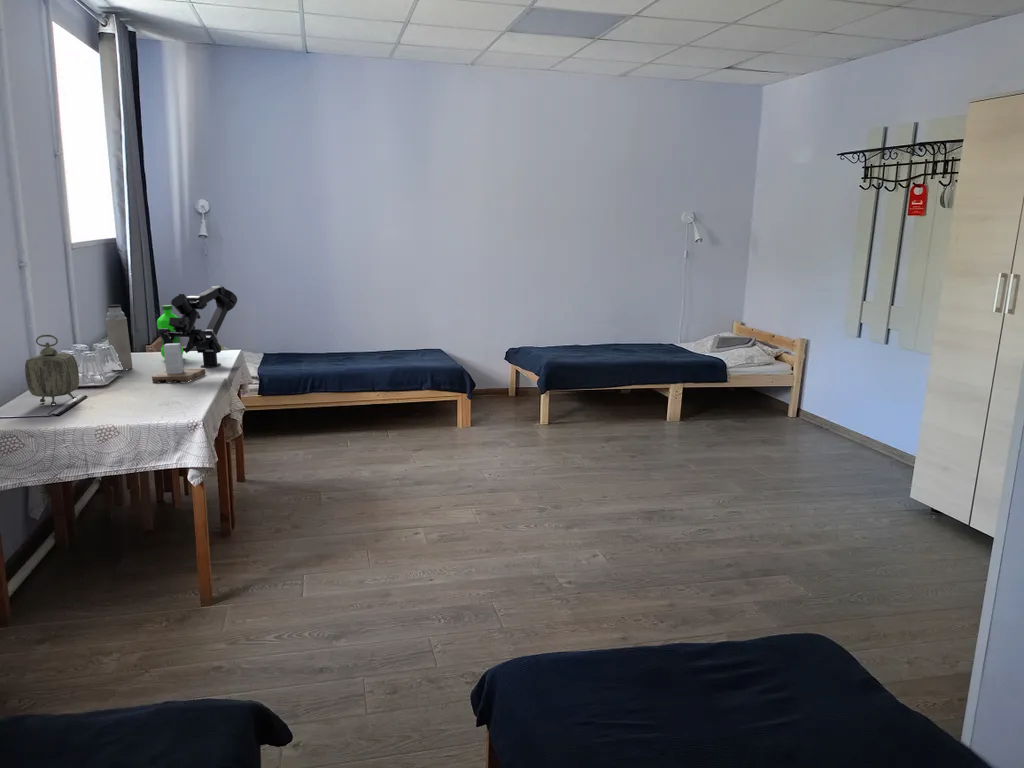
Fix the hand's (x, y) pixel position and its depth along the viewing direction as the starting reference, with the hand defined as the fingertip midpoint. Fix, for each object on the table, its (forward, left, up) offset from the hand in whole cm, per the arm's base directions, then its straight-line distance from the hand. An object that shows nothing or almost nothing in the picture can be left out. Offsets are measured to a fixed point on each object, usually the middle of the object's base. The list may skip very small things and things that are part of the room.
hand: (175, 352), depth 303 cm
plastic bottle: (-38, -23, -11) cm, 46 cm away
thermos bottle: (-16, -34, -11) cm, 39 cm away
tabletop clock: (+44, -22, -11) cm, 50 cm away
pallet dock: (+1, +1, -11) cm, 11 cm away
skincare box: (+1, 0, -9) cm, 9 cm away
